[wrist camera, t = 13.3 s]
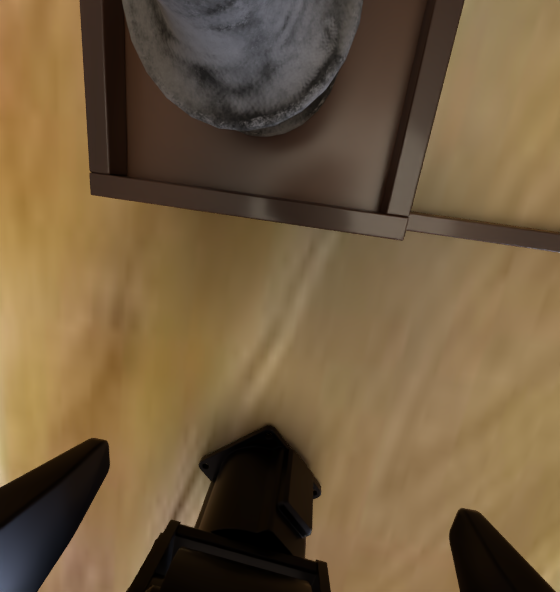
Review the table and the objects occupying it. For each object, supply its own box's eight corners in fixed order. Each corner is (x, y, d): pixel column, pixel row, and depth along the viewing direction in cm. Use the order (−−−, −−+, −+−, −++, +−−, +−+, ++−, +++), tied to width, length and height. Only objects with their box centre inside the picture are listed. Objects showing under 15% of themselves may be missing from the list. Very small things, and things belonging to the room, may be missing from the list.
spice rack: (164, 192, 18) (90, 194, 12) (168, -69, 14) (64, -244, 9) (605, 255, 16) (763, 294, 11) (734, -20, 13) (1082, -193, 7)
